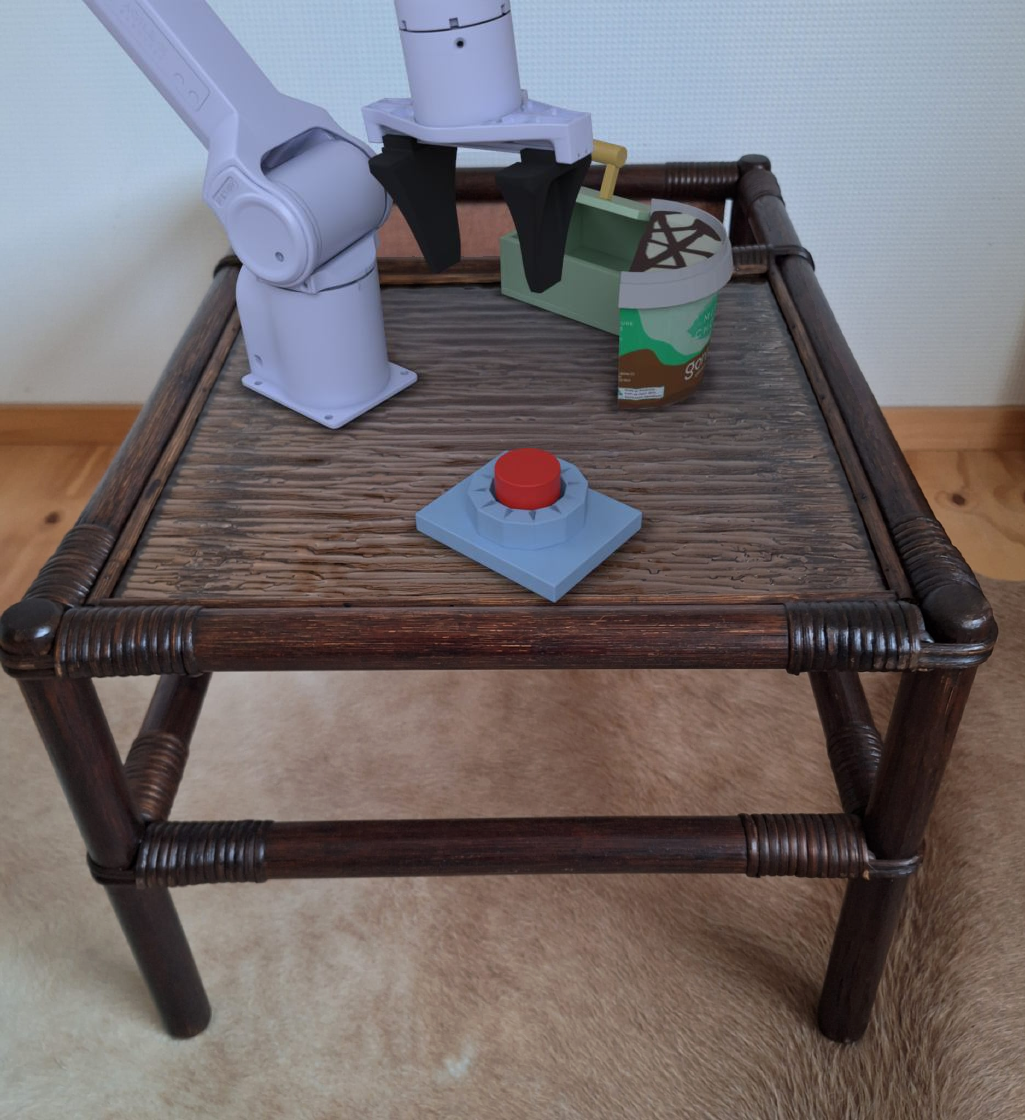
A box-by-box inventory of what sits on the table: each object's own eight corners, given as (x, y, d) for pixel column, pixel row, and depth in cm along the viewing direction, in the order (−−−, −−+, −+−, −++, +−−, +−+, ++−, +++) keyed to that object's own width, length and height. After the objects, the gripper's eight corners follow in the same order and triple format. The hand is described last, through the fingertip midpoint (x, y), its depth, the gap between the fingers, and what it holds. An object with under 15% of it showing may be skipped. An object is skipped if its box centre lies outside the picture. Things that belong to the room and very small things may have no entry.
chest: (630, 340, 77) (633, 280, 74) (501, 293, 83) (499, 237, 80) (706, 288, 83) (712, 231, 80) (580, 248, 89) (581, 194, 86)
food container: (709, 431, 68) (725, 285, 61) (613, 420, 69) (619, 275, 63) (729, 338, 77) (746, 202, 71) (644, 329, 78) (653, 195, 72)
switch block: (416, 530, 61) (411, 487, 59) (506, 465, 66) (504, 424, 64) (554, 603, 56) (554, 560, 54) (641, 528, 61) (644, 485, 59)
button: (481, 495, 59) (480, 469, 58) (523, 465, 61) (522, 440, 60) (532, 520, 57) (532, 494, 56) (573, 488, 59) (574, 462, 58)
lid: (636, 219, 71) (654, 153, 70) (496, 179, 77) (510, 117, 76) (711, 231, 80) (728, 173, 78) (580, 193, 86) (593, 139, 85)
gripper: (619, -1, 52) (638, 267, 60) (406, -1, 60) (447, 234, 68) (529, 36, 48) (562, 318, 56) (314, 31, 56) (370, 277, 64)
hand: (494, 275), depth 62 cm, fingers open, 7 cm apart
